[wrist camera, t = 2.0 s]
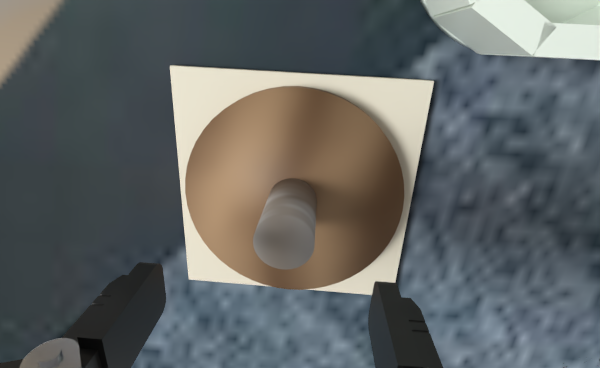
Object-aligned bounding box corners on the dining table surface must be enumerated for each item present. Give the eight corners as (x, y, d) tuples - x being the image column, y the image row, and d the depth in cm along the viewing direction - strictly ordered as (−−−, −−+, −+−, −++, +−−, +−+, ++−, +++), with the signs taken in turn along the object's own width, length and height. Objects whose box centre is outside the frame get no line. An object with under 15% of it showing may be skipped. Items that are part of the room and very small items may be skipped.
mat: (431, 80, 19) (434, 81, 19) (391, 291, 25) (392, 296, 24) (173, 65, 20) (169, 65, 19) (191, 274, 26) (188, 279, 25)
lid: (419, 93, 19) (457, 111, 14) (384, 288, 24) (402, 359, 19) (182, 79, 20) (127, 91, 14) (197, 272, 25) (160, 337, 19)
